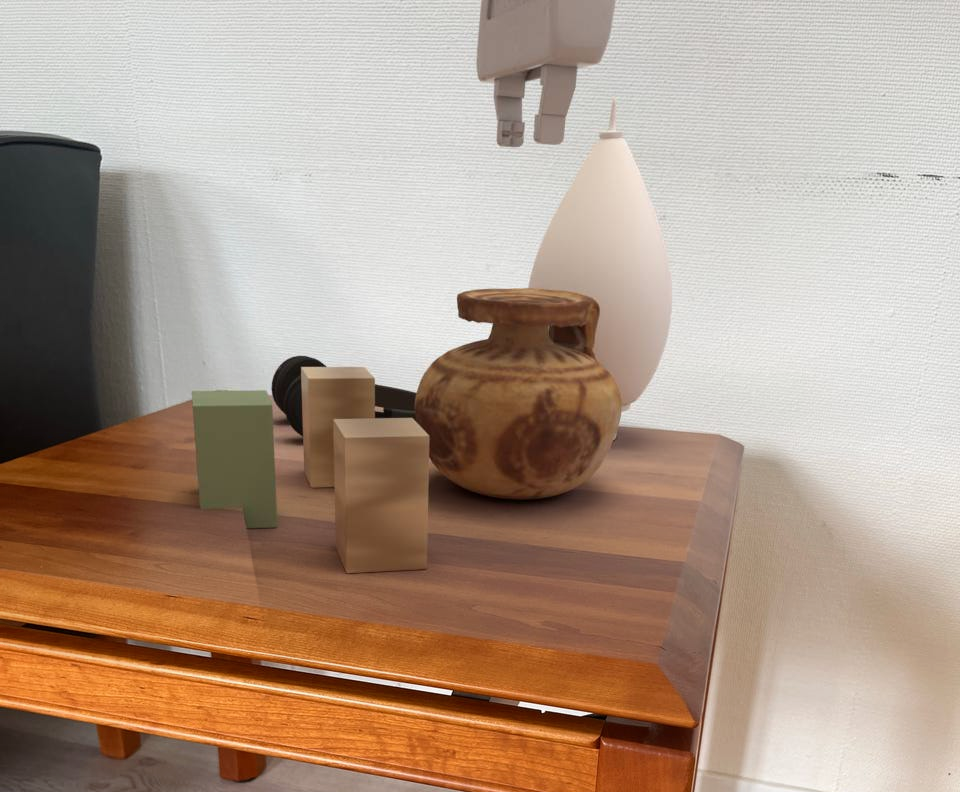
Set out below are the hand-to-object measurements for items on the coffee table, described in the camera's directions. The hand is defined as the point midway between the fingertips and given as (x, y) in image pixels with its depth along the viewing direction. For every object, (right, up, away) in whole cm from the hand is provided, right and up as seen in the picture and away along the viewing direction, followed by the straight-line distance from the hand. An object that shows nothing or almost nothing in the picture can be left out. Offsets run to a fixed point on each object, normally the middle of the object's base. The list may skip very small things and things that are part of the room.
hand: (527, 145), depth 75 cm
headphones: (-17, -12, +43) cm, 48 cm away
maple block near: (-11, -30, +3) cm, 32 cm away
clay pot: (0, -22, +22) cm, 31 cm away
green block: (-24, -26, +10) cm, 37 cm away
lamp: (+9, -13, +44) cm, 46 cm away
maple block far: (-17, -21, +23) cm, 35 cm away
